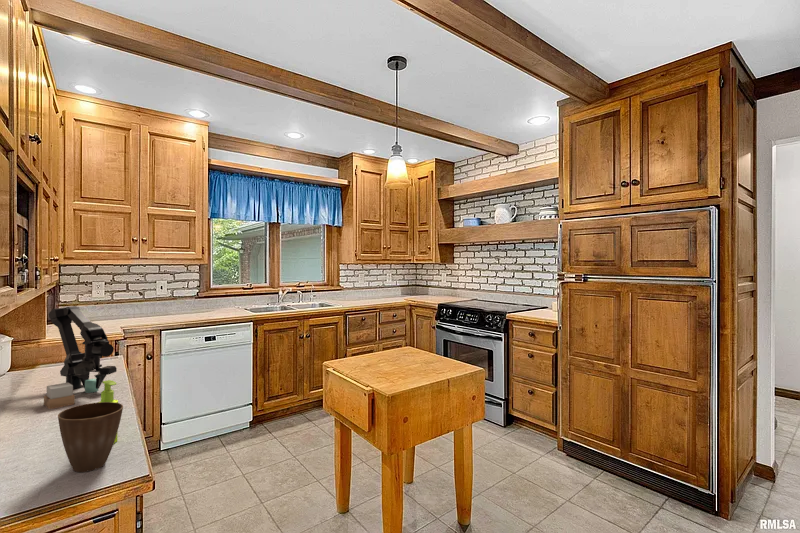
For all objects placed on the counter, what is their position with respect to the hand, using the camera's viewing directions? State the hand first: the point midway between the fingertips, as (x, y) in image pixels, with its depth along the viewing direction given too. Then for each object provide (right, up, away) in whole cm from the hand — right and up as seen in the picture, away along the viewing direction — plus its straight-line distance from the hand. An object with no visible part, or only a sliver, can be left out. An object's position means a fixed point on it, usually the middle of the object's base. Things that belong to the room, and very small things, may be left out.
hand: (91, 388), depth 189 cm
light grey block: (+1, +3, -18) cm, 19 cm away
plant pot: (+52, -2, -70) cm, 87 cm away
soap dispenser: (+46, -2, -55) cm, 71 cm away
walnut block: (0, -1, -19) cm, 19 cm away
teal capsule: (0, -1, 0) cm, 1 cm away
